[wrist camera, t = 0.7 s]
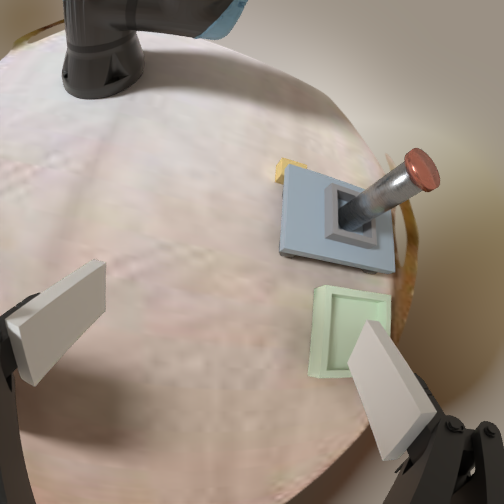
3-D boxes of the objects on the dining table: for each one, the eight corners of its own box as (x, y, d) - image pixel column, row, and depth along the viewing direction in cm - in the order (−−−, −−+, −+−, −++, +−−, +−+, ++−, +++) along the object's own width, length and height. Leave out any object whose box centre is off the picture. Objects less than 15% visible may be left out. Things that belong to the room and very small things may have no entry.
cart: (276, 165, 43) (295, 139, 37) (369, 196, 48) (395, 179, 41) (268, 258, 38) (291, 242, 32) (373, 278, 43) (404, 268, 37)
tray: (314, 288, 39) (325, 284, 37) (378, 298, 43) (391, 295, 40) (307, 375, 36) (319, 378, 33) (374, 373, 39) (387, 374, 36)
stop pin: (332, 200, 38) (407, 141, 25) (359, 208, 39) (434, 158, 26) (332, 231, 37) (415, 178, 23) (360, 238, 38) (443, 194, 24)
